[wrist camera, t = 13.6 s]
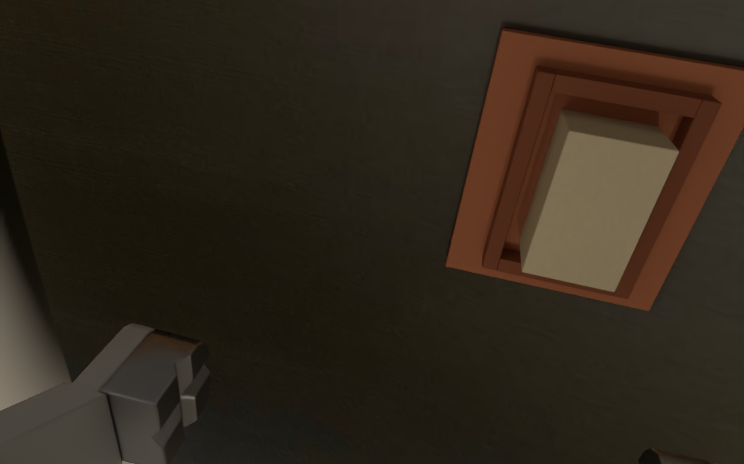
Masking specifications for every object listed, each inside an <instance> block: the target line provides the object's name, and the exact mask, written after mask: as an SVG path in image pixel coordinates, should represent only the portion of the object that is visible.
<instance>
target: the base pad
mask: <svg viewBox="0 0 744 464" xmlns="http://www.w3.org/2000/svg"><path fill="white" fill-rule="evenodd" d="M561 109H566V110H571V111H577V112H582V113H588V114H593V115H599V116H604V117H610V118H615V119H621V120H626V121H632V122H637V123H643V124H648V125H654V126H658V127H660V129H661V130H662V131H663V132H664V133H665V135H666V136H667V137H668V138H669V139H670V141H671V142H672V143H673V144H674V145H675V147H676V148H677V149H678V150H679V154H678V156H677V158H676V160H675V162H674V164H673V167H672V169H671V171H670V173H669V175H668V177H667V180H666V182H665V184H664V186H663V188H662V190H661V193H660V195H659V197H658V199H657V201H656V203H655V206H654V208H653V210H652V212H651V214H650V216H649V219H648V221H647V223H646V225H645V227H644V230H643V232H642V234H641V236H640V238H639V240H638V243H637V245H636V247H635V249H634V251H633V253H632V256H631V258H630V260H629V262H628V264H627V266H626V269H625V271H624V273H623V275H622V277H621V279H620V282H619V284H618V286H617V288H616V290H615V292H611V291H606V290H602V289H597V288H593V287H588V286H584V285H579V284H574V283H570V282H565V281H561V280H556V279H552V278H547V277H542V276H538V275H533V274H529V273H524V272H522V269H521V255H520V241H519V238H520V235H521V232H522V229H523V226H524V223H525V220H526V217H527V213H528V210H529V207H530V204H531V201H532V198H533V195H534V192H535V188H536V185H537V182H538V179H539V176H540V173H541V170H542V167H543V163H544V160H545V157H546V154H547V151H548V148H549V145H550V142H551V138H552V135H553V132H554V129H555V126H556V123H557V120H558V117H559V113H560V110H561ZM743 128H744V68H743V67H737V66H731V65H725V64H719V63H713V62H707V61H701V60H695V59H688V58H682V57H676V56H670V55H664V54H658V53H652V52H646V51H640V50H634V49H628V48H622V47H616V46H610V45H604V44H598V43H592V42H586V41H580V40H574V39H568V38H562V37H556V36H550V35H544V34H538V33H532V32H526V31H520V30H514V29H508V28H502V31H501V35H500V39H499V44H498V48H497V52H496V56H495V60H494V64H493V69H492V73H491V77H490V81H489V85H488V89H487V94H486V98H485V102H484V106H483V110H482V114H481V119H480V123H479V127H478V131H477V135H476V139H475V143H474V148H473V152H472V156H471V160H470V164H469V168H468V173H467V177H466V181H465V185H464V189H463V193H462V198H461V202H460V206H459V210H458V214H457V218H456V223H455V227H454V231H453V235H452V239H451V243H450V248H449V252H448V256H447V261H446V266H447V267H451V268H456V269H460V270H465V271H470V272H474V273H479V274H483V275H488V276H492V277H497V278H501V279H506V280H510V281H515V282H519V283H524V284H528V285H533V286H537V287H542V288H547V289H551V290H556V291H560V292H565V293H569V294H574V295H578V296H583V297H587V298H592V299H596V300H601V301H605V302H610V303H614V304H619V305H624V306H628V307H633V308H637V309H642V310H646V311H649V310H650V308H651V306H652V304H653V302H654V300H655V298H656V296H657V294H658V293H659V291H660V289H661V287H662V285H663V283H664V281H665V279H666V277H667V275H668V273H669V271H670V269H671V267H672V265H673V263H674V261H675V260H676V258H677V256H678V254H679V252H680V250H681V248H682V246H683V244H684V242H685V240H686V238H687V236H688V234H689V232H690V230H691V228H692V227H693V225H694V223H695V221H696V219H697V217H698V215H699V213H700V211H701V209H702V207H703V205H704V203H705V201H706V199H707V197H708V195H709V194H710V192H711V190H712V188H713V186H714V184H715V182H716V180H717V178H718V176H719V174H720V172H721V170H722V168H723V166H724V164H725V162H726V161H727V159H728V157H729V155H730V153H731V151H732V149H733V147H734V145H735V143H736V141H737V139H738V137H739V135H740V133H741V131H742V129H743Z"/></svg>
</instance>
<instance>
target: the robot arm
mask: <svg viewBox="0 0 744 464" xmlns="http://www.w3.org/2000/svg"><path fill="white" fill-rule="evenodd" d="M208 357H209V351H208V343H205V342H203V341H199V340H196V339H192V338H188V337H185V336H181V335H177V334H173V333H170V332H166V331H162V330H158V329H154V328H150V327H146V326H142V325H138V324H134V323H131V324H129V325H127V326H125V327H124V328H123V329H122V330H121V331H120V332H119V333H118V334H117V335H116V336H115V337H114V338H113V339H112V341H111V342H110V343H109V344H108V345H107V346H106V347H105V348H104V349H103V350H102V351H101V352H100V354H99V355H98V356H97V357H96V358H95V359H94V360H93V361H92V362H91V363H90V364H89V365H88V367H87V368H86V369H85V370H84V371H83V372H82V373H81V374H80V375H79V376H78V377H77V378H76V380H75V381H74V382H73V383H72V384H71V385H70V384H66V383H62V384H60V385H58V386H55V387H53V388H51V389H49V390H46V391H44V392H42V393H40V394H37V395H35V396H33V397H31V398H28V399H27V400H24V401H22V402H20V403H17V404H15V405H13V406H10V407H9V408H6V409H4V410H1V411H0V464H122V461H126V462H130V463H135V464H171V462H172V460H173V459H174V457H175V456H176V454H177V452H178V451H179V449H180V447H181V446H182V444H183V442H184V441H185V437H184V429H183V428H184V427H186V426H188V425H190V424H191V423H193V422H195V421H197V419H198V417H199V415H200V414H201V412H202V410H203V409H204V406H205V403H206V401H207V398H208V395H209V392H210V385H211V374H210V371H209V370H208V369H207V368H206V366H205V365H204V363H205V362H206V360H207V359H208ZM638 461H639V464H717V463H710V462H709V461H706V460H701V459H697V458H693V457H688V456H684V455H679V454H675V453H671V452H666V451H662V450H657V449H653V448H650V449H648V450H646V451H644V452H643V454H642V455H641V457H640V458H639V460H638Z"/></svg>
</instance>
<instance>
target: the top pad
mask: <svg viewBox="0 0 744 464" xmlns="http://www.w3.org/2000/svg"><path fill="white" fill-rule="evenodd" d="M678 154H679V150H678V149H677V148H676V147H675V145H674V144H673V143H672V142H671V141H670V139H669V138H668V137H667V136H666V135H665V133H664V132H663V131H662V130H661V129H660V127H658V126H654V125H648V124H643V123H637V122H632V121H626V120H621V119H615V118H610V117H604V116H599V115H593V114H588V113H582V112H577V111H571V110H566V109H561V110H560V113H559V117H558V120H557V123H556V126H555V129H554V132H553V135H552V138H551V142H550V145H549V148H548V151H547V154H546V157H545V160H544V163H543V167H542V170H541V173H540V176H539V179H538V182H537V185H536V188H535V192H534V195H533V198H532V201H531V204H530V207H529V210H528V213H527V217H526V220H525V223H524V226H523V229H522V232H521V235H520V238H519V241H520V255H521V269H522V272H524V273H529V274H533V275H538V276H542V277H547V278H552V279H556V280H561V281H565V282H570V283H574V284H579V285H584V286H588V287H593V288H597V289H602V290H606V291H611V292H615V290H616V288H617V286H618V284H619V282H620V279H621V277H622V275H623V273H624V271H625V269H626V266H627V264H628V262H629V260H630V258H631V256H632V253H633V251H634V249H635V247H636V245H637V243H638V240H639V238H640V236H641V234H642V232H643V230H644V227H645V225H646V223H647V221H648V219H649V216H650V214H651V212H652V210H653V208H654V206H655V203H656V201H657V199H658V197H659V195H660V193H661V190H662V188H663V186H664V184H665V182H666V180H667V177H668V175H669V173H670V171H671V169H672V167H673V164H674V162H675V160H676V158H677V156H678Z"/></svg>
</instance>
